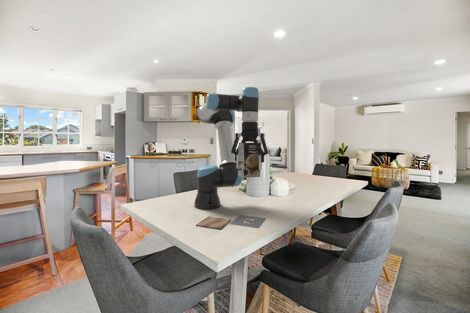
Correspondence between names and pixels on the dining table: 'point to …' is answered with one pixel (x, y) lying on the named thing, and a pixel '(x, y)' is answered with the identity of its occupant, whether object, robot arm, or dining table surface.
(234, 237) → the dining table surface
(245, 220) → the mat
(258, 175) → the coffee box
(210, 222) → the walnut board
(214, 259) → the dining table surface
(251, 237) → the dining table surface
